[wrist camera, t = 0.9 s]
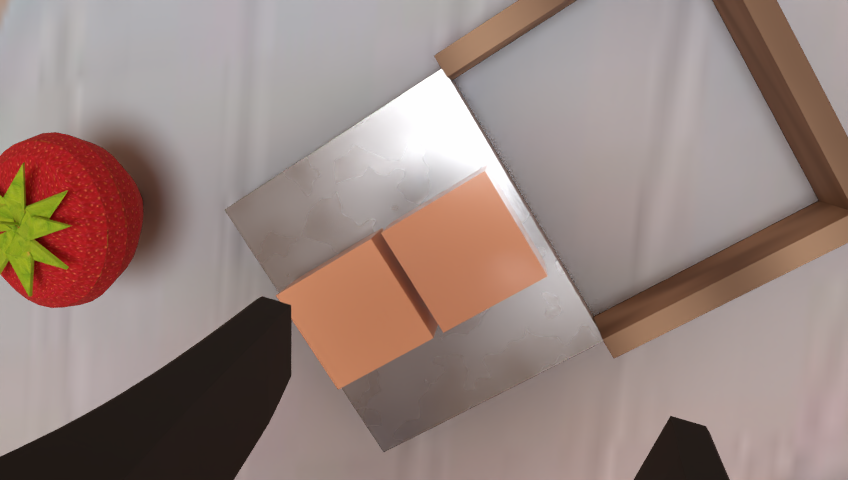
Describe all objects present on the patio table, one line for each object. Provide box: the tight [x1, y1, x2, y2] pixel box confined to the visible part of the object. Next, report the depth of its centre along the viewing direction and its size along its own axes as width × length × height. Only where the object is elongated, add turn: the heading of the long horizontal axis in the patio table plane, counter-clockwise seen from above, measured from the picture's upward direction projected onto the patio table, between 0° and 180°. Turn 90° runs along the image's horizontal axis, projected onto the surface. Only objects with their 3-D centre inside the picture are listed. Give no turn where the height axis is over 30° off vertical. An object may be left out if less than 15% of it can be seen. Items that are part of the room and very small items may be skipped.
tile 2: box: [276, 228, 438, 389], centre depth 29 cm, size 5×5×2 cm
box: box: [434, 0, 848, 358], centre depth 27 cm, size 12×15×3 cm
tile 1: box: [381, 165, 548, 333], centre depth 27 cm, size 5×5×2 cm
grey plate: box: [225, 69, 603, 452], centre depth 30 cm, size 12×14×2 cm
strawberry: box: [0, 132, 143, 308], centre depth 28 cm, size 6×8×10 cm
